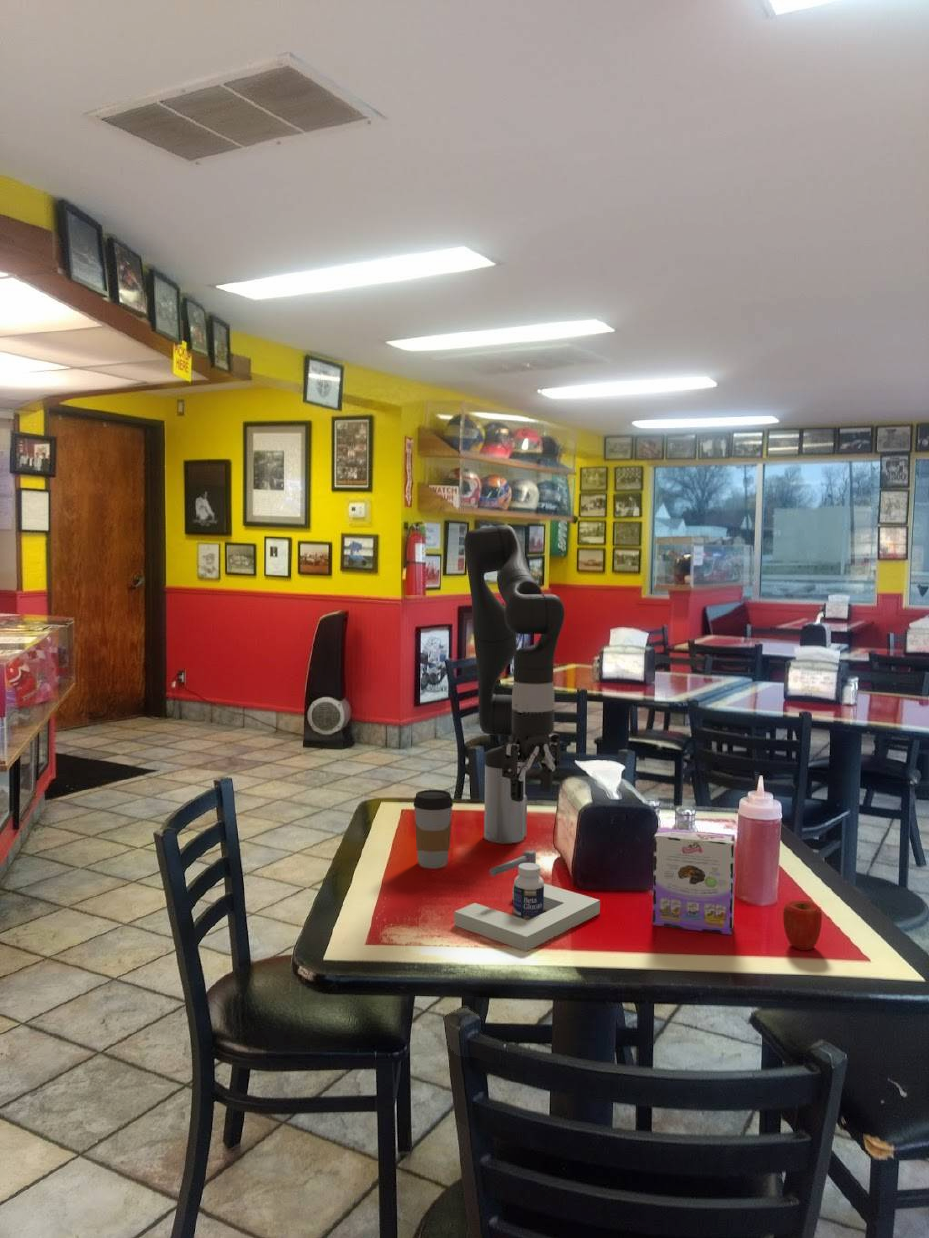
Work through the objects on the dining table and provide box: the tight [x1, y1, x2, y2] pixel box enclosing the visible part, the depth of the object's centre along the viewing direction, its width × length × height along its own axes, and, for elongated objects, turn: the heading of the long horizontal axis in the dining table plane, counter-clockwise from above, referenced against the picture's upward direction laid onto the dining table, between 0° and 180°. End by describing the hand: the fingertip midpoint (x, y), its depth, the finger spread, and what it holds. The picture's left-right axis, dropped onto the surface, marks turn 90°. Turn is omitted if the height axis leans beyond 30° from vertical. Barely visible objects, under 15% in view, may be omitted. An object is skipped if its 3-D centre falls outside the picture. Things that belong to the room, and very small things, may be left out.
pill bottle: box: [512, 863, 545, 921], centre depth 168 cm, size 5×5×10 cm
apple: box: [782, 900, 823, 951], centre depth 157 cm, size 6×6×8 cm
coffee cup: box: [413, 789, 454, 869], centre depth 196 cm, size 8×8×15 cm
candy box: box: [651, 827, 736, 935], centre depth 166 cm, size 14×6×16 cm, turn 71°
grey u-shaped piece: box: [453, 849, 601, 952], centre depth 167 cm, size 22×16×9 cm
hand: (531, 795), depth 167 cm, fingers open, 8 cm apart
